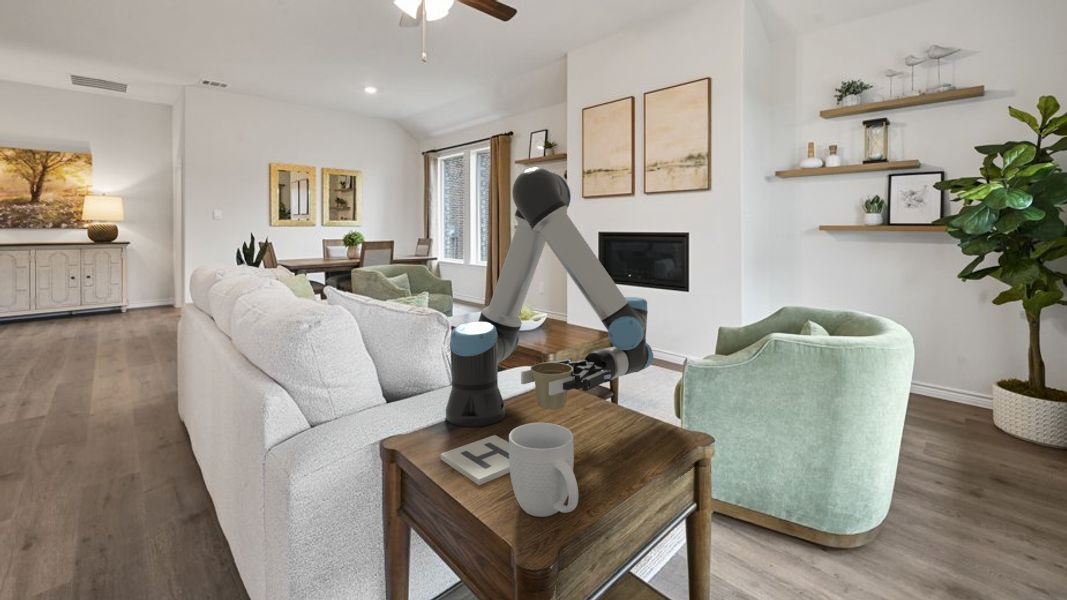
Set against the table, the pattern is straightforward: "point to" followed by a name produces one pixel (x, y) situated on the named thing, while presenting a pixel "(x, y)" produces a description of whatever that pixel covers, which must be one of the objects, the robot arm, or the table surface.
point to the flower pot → (542, 379)
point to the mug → (543, 468)
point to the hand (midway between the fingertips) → (535, 383)
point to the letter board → (480, 459)
